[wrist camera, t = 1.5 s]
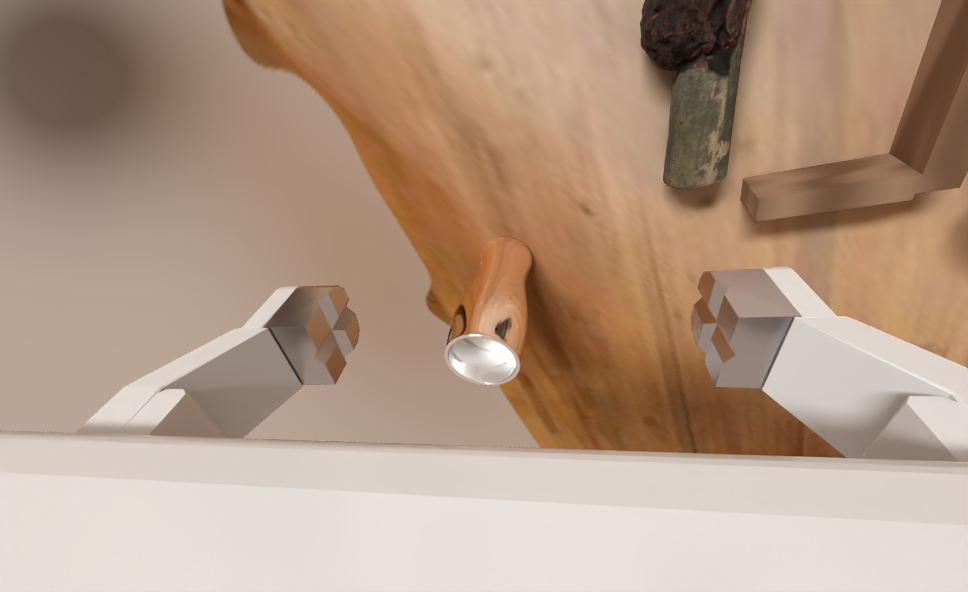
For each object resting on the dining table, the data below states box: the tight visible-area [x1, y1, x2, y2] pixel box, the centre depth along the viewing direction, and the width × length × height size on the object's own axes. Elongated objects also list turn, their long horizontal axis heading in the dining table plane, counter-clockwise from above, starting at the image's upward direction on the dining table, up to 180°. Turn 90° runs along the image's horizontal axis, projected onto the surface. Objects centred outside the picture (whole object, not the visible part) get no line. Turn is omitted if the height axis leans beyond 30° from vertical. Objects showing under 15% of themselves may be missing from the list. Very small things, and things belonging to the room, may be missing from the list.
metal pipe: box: [640, 0, 752, 190], centre depth 27 cm, size 18×7×6 cm, turn 13°
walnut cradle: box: [741, 0, 968, 222], centre depth 24 cm, size 12×26×4 cm, turn 16°
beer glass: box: [444, 237, 533, 385], centre depth 39 cm, size 7×7×15 cm
